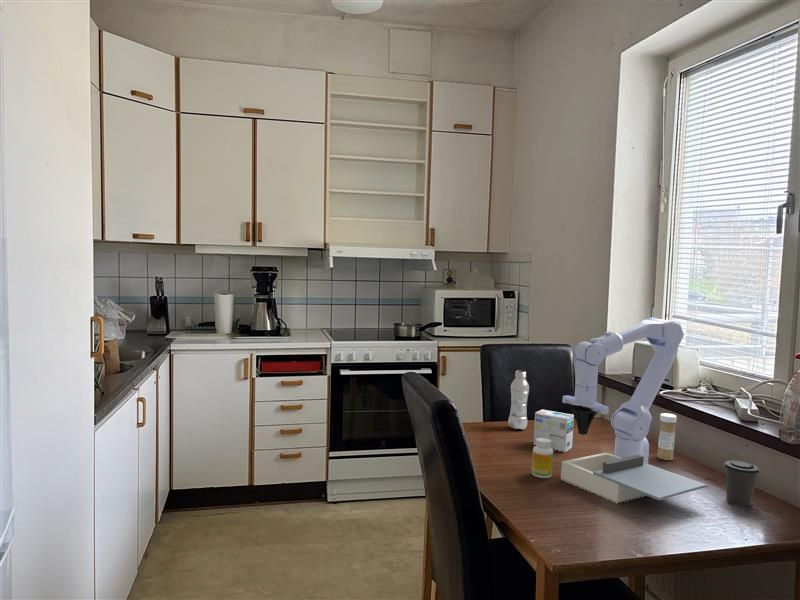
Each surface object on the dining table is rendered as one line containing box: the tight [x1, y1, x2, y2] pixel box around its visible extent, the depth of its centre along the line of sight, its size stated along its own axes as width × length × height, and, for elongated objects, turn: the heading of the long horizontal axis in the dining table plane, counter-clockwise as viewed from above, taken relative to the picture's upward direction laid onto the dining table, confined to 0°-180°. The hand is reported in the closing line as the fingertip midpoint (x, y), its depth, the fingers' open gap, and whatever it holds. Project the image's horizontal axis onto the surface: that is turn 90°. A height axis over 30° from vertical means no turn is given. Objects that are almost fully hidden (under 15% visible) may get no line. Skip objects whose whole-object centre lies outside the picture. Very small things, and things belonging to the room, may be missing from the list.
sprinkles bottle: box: [657, 412, 678, 461], centre depth 186 cm, size 5×5×14 cm
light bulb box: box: [532, 408, 575, 453], centre depth 193 cm, size 11×7×11 cm, turn 58°
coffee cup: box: [723, 459, 761, 507], centre depth 154 cm, size 8×8×10 cm
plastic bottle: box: [508, 370, 530, 430], centre depth 211 cm, size 6×7×20 cm
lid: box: [593, 455, 708, 501], centre depth 151 cm, size 19×19×3 cm
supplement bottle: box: [531, 438, 554, 479], centre depth 167 cm, size 5×5×10 cm
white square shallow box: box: [560, 452, 648, 505], centre depth 161 cm, size 18×18×5 cm
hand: (582, 433), depth 171 cm, fingers closed
